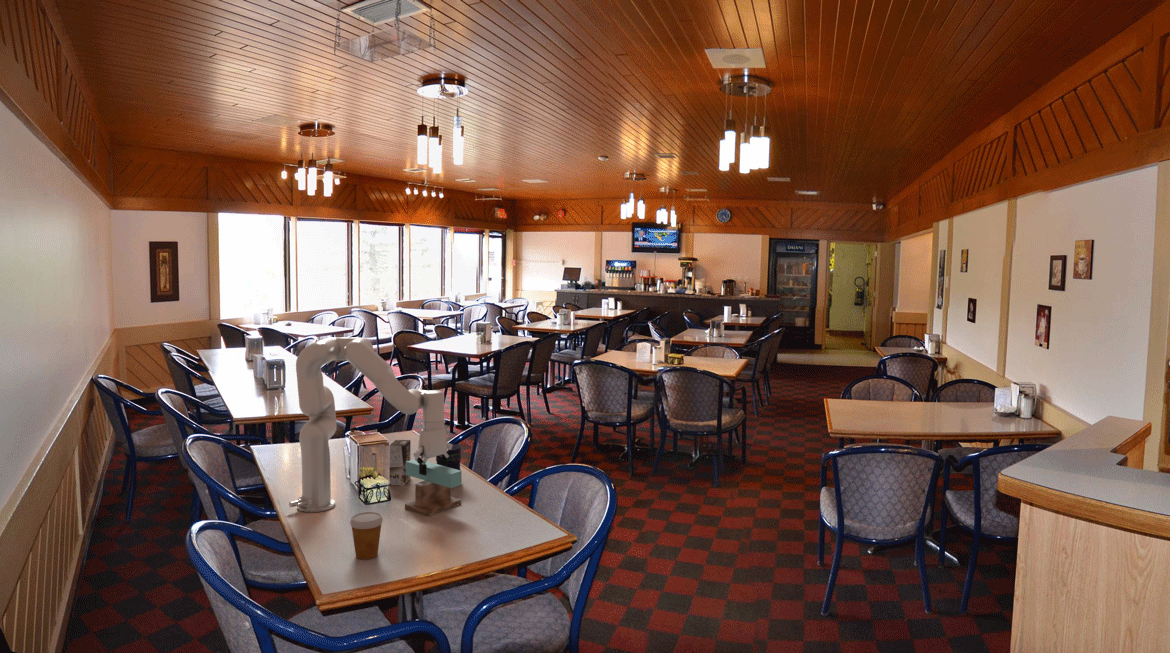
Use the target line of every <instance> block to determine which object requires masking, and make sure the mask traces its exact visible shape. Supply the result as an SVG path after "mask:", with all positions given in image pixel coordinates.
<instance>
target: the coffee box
mask: <svg viewBox="0 0 1170 653" xmlns="http://www.w3.org/2000/svg"><path fill="white" fill-rule="evenodd" d="M388 446H389V448H388V452H389V456H388V457H389V458H388V460H389V461H388V466H389V468H388V470H389V472H388V476H389V477H388V478H389V479H388V482H389V481H390V484H391V485H390V486H406V484H407V483H408V482H409V481H410V480H411V477H412V476H408V475H406V461H410V460H411V439H395V440H393V442H391V443H390V444H389V445H388Z"/></svg>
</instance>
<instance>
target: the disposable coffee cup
mask: <svg viewBox="0 0 1170 653" xmlns="http://www.w3.org/2000/svg"><path fill="white" fill-rule="evenodd" d="M383 521H384V518H383V516H382V514H381V513H380V512H377V511H363V512H362V511H361V512H358V513H356V514H353V515H352V516H351V518H350V521H349V524H350V527H351V533H352V539H353V540H352V541H353V545H354V552H355V558H356V559H359V560H365V561H366V560H371V559H374V558H375V557H377V556H378V555H379V547H380V545H379V544H380V537H381V530H382V524H383Z"/></svg>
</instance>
